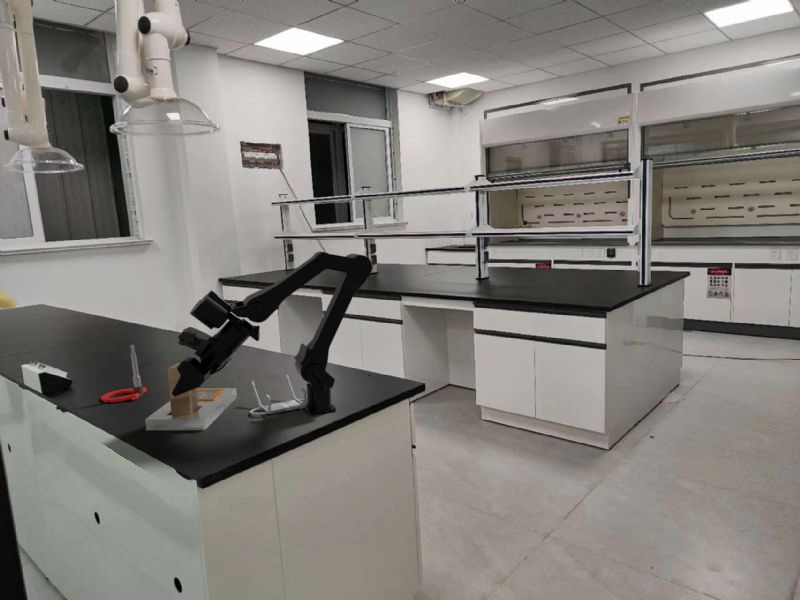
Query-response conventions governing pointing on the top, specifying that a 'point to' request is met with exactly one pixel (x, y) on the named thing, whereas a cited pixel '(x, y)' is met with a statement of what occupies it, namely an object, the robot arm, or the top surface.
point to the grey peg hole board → (208, 411)
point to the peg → (185, 401)
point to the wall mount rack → (280, 406)
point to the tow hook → (136, 391)
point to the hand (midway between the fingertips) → (182, 388)
